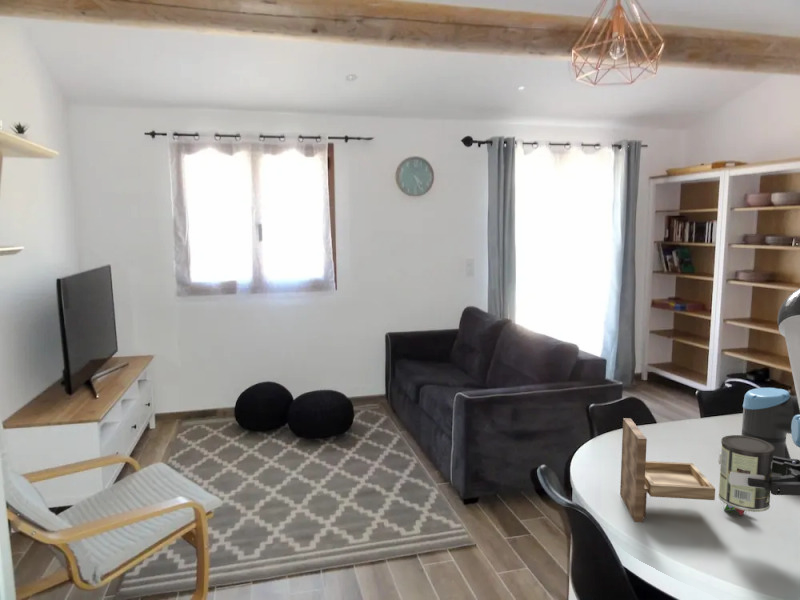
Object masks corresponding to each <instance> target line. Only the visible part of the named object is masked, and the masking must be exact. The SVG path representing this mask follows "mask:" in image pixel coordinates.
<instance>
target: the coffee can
mask: <svg viewBox="0 0 800 600" xmlns="http://www.w3.org/2000/svg"><path fill="white" fill-rule="evenodd" d="M720 443H721V452H720V453H721V464H720V467H719V468H720V469H719V471H720V473H719V489H718V498H719V500H721V501H720V502H722V503H723V504H724V505H729V506H731V507H734V508H737V509H740V510H745V511H746V512H752V513H757V512H758V513H760V512H766V511H768V510H769V509H770V508H771V506H770V504H771V503H770V502H771V491H768V490H765V488H756V487H748V486H739V485H731V484H730V483H729V480H730V472H738V473H747V474H756V475H764V477H765V479H764V480H766V475H769V476H770V477H772V474H773V472H772V463H773V452H774V446H773V445H772V444H770V443H768V442H766V441H764V440H761V439H758V438H754V437H749V436H742V434H741V435H738V434H737V435H736V434H733V435H732V434H731V435H730V434H729V435H725V436H723V437H721V442H720Z"/></svg>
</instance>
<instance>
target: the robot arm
mask: <svg viewBox="0 0 800 600" xmlns="http://www.w3.org/2000/svg"><path fill="white" fill-rule="evenodd" d="M776 321H777V326H778V332H779V334H780V335H781V336H782V337H783V338H784V339H785V344H786V349H787V355H788V358H789V360H788V361H789V363H790V369H791V373H792V379H793V382H794V388H795V395H791V394H790V392H789V391H788V390H786V389H783V388H777V387H757V388H752V389H749V390H748V391H747V392H746V393H745V394H744V396H743V397H744V399H743V404H742V408H743V410H742V421H741V422H742V423H741V424H742V425H741V435H742V436H749V437H754V438H758V439H761V440H764V441H766V442H768V443H770V444H772V445H773V446H774V452H773V463H772V473H775V474H779V475H780V476H779V475H777V476H771V477H770V476H769V475H766V480H764V479H765V477H764V475H756V474H747V473H738V472H730V480H729V483H730V484H731V485H739V486H748V487H756V488H765V490H768V491H770V495H773V496H800V459H796V458H795V459H794V458H791V455H790V452H789V448H788V444H787V434H789V435H791V439H792V442H793V443H794V445H795V446H796V447H798V448H800V288H798V289H797V290H795V291H793V292H792V293H790V294H789V295H788V296H787V297H786V298H785V300H784V301H783V303H782V304H781V306H780V307H779V310H778V314H777V320H776ZM718 465H721V452H719V453H718Z"/></svg>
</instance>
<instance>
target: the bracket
mask: <svg viewBox="0 0 800 600" xmlns="http://www.w3.org/2000/svg"><path fill="white" fill-rule="evenodd" d="M647 439H648V438H647V437H646V435H644V434H643V432H642V431H641V430H640V428H639V427H638V426H637V425H636V423H635V422H634V421H633V418H630V417H629V418H627V417H625V418H624V417H623V419H622V439H621V440H622V442H621V461H620V462H621V465H620V488H619V493H620V496H621V498H622V500H623V502H624V504H625V506H626V508H627V510H628V511H629V514H630V516H631V518H632V519H633V521H634V523H644V519H645V518H647V517H646V516H647V514H646V513H647V495H649V496H650V497H653V498H667V499H669V498H670V499H685V500H687V499H688V500H704V501H706V500H707V501H716V488H715V487H714V485H712V483H711V482H710V481H709V480H708V479H707V478H706V476H704V474H703V473H702V472H701V471H700V470H699V469H698V468H697V466H696V465H695V464H694V463H692V462H676V461H675V462H671V461H651V460H647V441H648V440H647Z"/></svg>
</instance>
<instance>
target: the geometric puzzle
mask: <svg viewBox="0 0 800 600" xmlns="http://www.w3.org/2000/svg"><path fill="white" fill-rule="evenodd" d="M719 500H720V499H719ZM720 502H722V501H721V500H720ZM725 505H726V506H724V509H723V511H724V512H728V513H731V514H733V515H738V516H741V517H743V516H744V515H745V514H746V512H747V511H746V512H745V510H740V509H737V508H734V507H731V506H729V505H727V504H725ZM729 510H732V511H734V512H735V513H732V512H730V511H729Z"/></svg>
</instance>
